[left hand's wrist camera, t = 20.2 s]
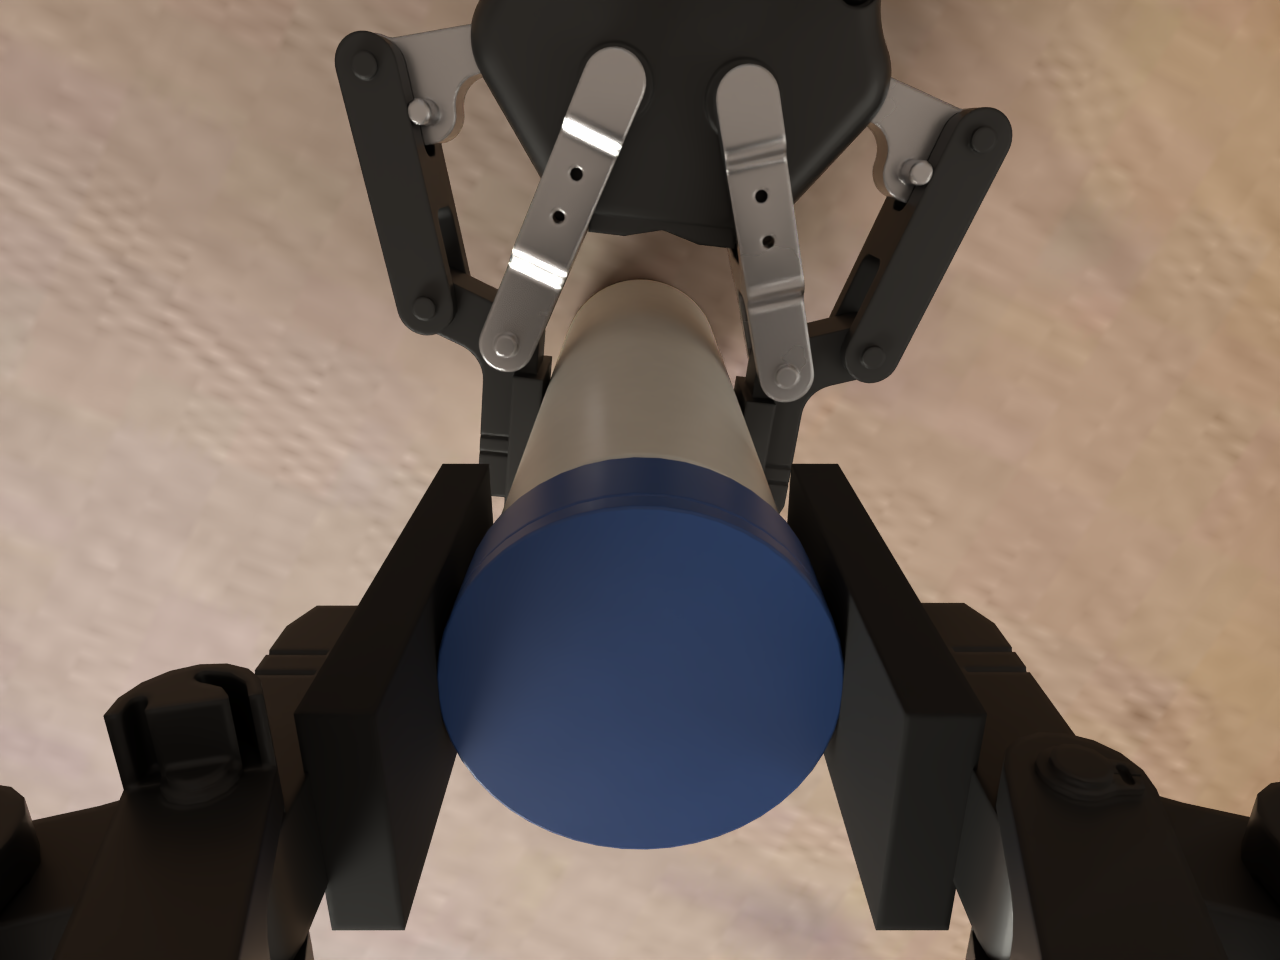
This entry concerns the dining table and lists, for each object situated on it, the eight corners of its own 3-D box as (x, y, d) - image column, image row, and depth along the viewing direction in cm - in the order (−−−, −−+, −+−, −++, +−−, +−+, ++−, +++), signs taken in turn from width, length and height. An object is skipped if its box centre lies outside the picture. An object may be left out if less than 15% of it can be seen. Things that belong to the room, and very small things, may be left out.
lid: (811, 763, 13) (834, 846, 11) (480, 771, 13) (459, 855, 11) (828, 450, 11) (858, 500, 10) (440, 461, 11) (410, 512, 10)
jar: (634, 245, 25) (627, 416, 10) (747, 350, 26) (893, 646, 11) (533, 360, 26) (390, 666, 11) (645, 455, 28) (651, 850, 12)
